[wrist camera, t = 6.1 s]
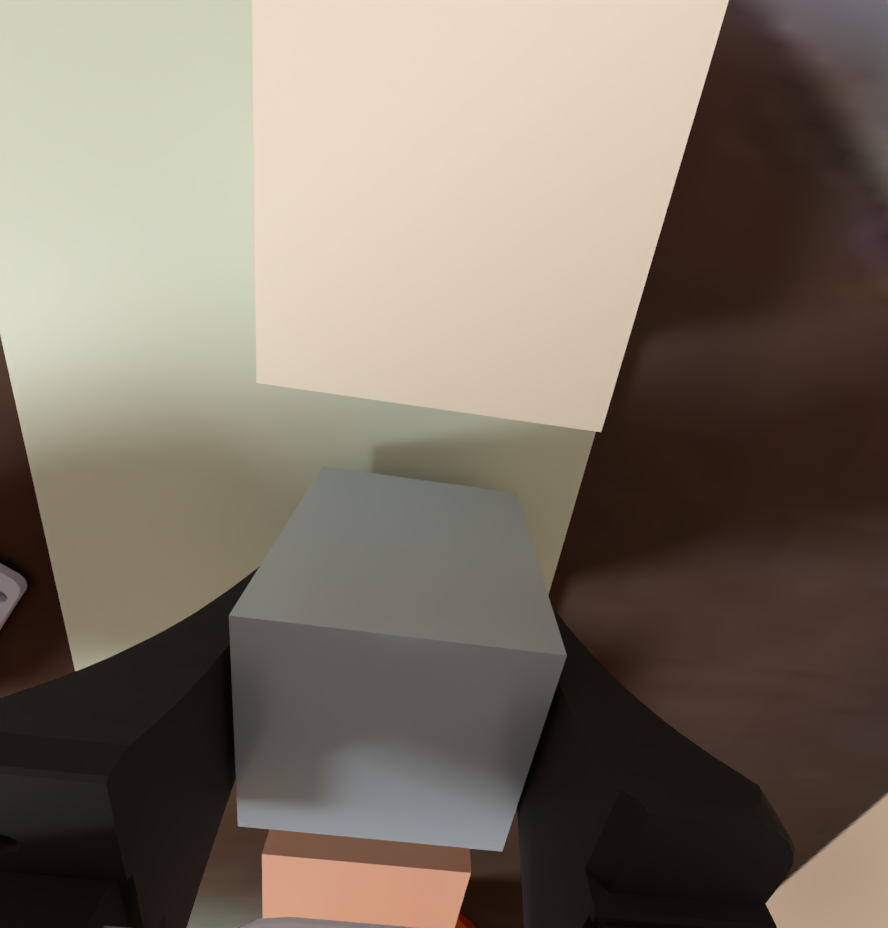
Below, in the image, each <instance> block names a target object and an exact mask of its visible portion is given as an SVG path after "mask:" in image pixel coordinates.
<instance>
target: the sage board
mask: <svg viewBox="0 0 888 928" xmlns="http://www.w3.org/2000/svg"><path fill="white" fill-rule="evenodd" d="M0 335H1V340H2V344H3V349H4V353H5V358H6V362H7V367H8V371H9V376H10V380H11V385H12V389H13V394H14V398H15V403H16V407H17V412H18V416H19V421H20V425H21V430H22V434H23V439H24V443H25V448H26V452H27V457H28V461H29V466H30V470H31V475H32V479H33V484H34V488H35V493H36V497H37V502H38V506H39V511H40V515H41V520H42V524H43V529H44V533H45V538H46V542H47V547H48V551H49V556H50V560H51V565H52V569H53V574H54V578H55V583H56V587H57V592H58V596H59V601H60V605H61V610H62V614H63V619H64V623H65V628H66V632H67V637H68V641H69V646H70V650H71V655H72V659H73V664H74V668H75V671H78V670H81V669H83V668H86V667H88V666H90V665H93V664H95V663H97V662H100V661H102V660H105V659H107V658H109V657H111V656H114V655H116V654H118V653H120V652H122V651H124V650H126V649H128V648H130V647H132V646H134V645H136V644H138V643H141V642H143V641H145V640H147V639H149V638H151V637H153V636H155V635H157V634H159V633H161V632H162V631H164V630H166V629H168V628H170V627H171V626H173V625H175V624H177V623H178V622H180V621H182V620H184V619H185V618H187V617H189V616H190V615H192V614H194V613H195V612H197V611H198V610H200V609H201V608H203V607H204V606H206V605H207V604H209V603H210V602H212V601H213V600H215V599H216V598H218V597H219V596H221V595H222V594H223V593H225V592H226V591H228V590H229V589H230V588H232V587H233V586H234V585H236V584H237V583H238V582H240V581H241V580H242V579H244V578H245V577H246V576H248V575H249V574H250V573H252V572H253V571H254V570H255V569H257V568H258V567H259V566H260V565H261V563H262V562H263V560H264V559H265V557H266V556H267V554H268V552H269V551H270V549H271V548H272V546H273V544H274V543H275V541H276V540H277V538H278V537H279V535H280V533H281V532H282V530H283V529H284V527H285V525H286V524H287V522H288V521H289V519H290V518H291V516H292V514H293V513H294V511H295V510H296V508H297V506H298V505H299V503H300V502H301V500H302V499H303V497H304V495H305V494H306V492H307V491H308V489H309V487H310V486H311V484H312V483H313V481H314V479H315V478H316V476H317V475H318V473H319V472H320V470H321V468H322V467H330V468H338V469H345V470H352V471H360V472H367V473H374V474H382V475H389V476H396V477H404V478H411V479H418V480H426V481H433V482H441V483H448V484H455V485H463V486H470V487H477V488H485V489H492V490H499V491H507V492H514V493H517V496H518V499H519V502H520V506H521V509H522V512H523V515H524V519H525V522H526V525H527V528H528V532H529V535H530V538H531V541H532V544H533V548H534V551H535V554H536V557H537V561H538V564H539V567H540V570H541V573H542V577H543V580H544V583H545V586H546V590H547V593H548V595H549V591H550V588H551V584H552V581H553V578H554V574H555V571H556V567H557V564H558V560H559V557H560V553H561V550H562V547H563V543H564V540H565V536H566V533H567V529H568V526H569V522H570V519H571V516H572V512H573V509H574V505H575V502H576V498H577V495H578V491H579V488H580V485H581V481H582V478H583V474H584V471H585V467H586V464H587V461H588V457H589V454H590V450H591V447H592V443H593V440H594V436H595V433H596V432H595V431H588V430H581V429H574V428H567V427H560V426H553V425H546V424H539V423H532V422H525V421H518V420H511V419H504V418H498V417H491V416H484V415H477V414H470V413H463V412H456V411H449V410H442V409H435V408H428V407H421V406H414V405H407V404H400V403H393V402H386V401H379V400H372V399H365V398H358V397H351V396H344V395H337V394H330V393H323V392H316V391H309V390H302V389H295V388H288V387H281V386H274V385H267V384H260V383H256V303H255V221H254V138H253V56H252V0H0Z"/></svg>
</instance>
